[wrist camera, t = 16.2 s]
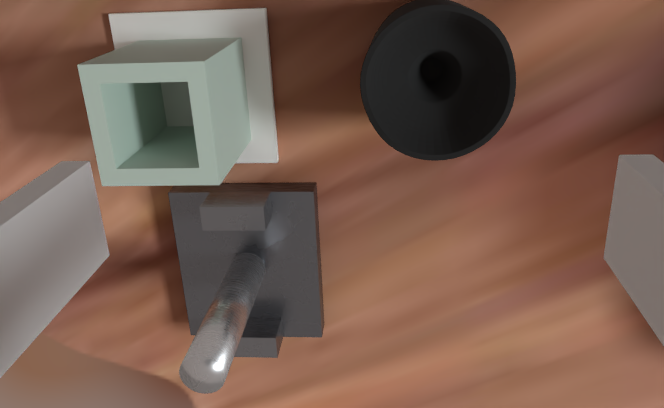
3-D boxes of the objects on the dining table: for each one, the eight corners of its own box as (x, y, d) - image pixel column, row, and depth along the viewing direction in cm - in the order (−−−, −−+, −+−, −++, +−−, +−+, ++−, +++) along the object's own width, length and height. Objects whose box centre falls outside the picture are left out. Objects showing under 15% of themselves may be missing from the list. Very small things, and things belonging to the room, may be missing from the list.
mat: (111, 13, 46) (108, 14, 46) (266, 7, 45) (264, 8, 45) (138, 161, 51) (135, 164, 50) (278, 160, 50) (277, 162, 49)
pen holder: (345, 86, 47) (334, 120, 38) (401, -32, 43) (404, -25, 34) (452, 138, 48) (467, 184, 39) (516, 27, 44) (549, 49, 35)
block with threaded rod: (175, 183, 51) (91, 279, 37) (316, 182, 50) (286, 281, 36) (197, 322, 57) (130, 453, 42) (324, 324, 56) (301, 459, 41)
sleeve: (138, 40, 46) (77, 64, 37) (241, 37, 46) (204, 61, 36) (155, 140, 49) (102, 186, 40) (251, 139, 49) (219, 185, 40)
